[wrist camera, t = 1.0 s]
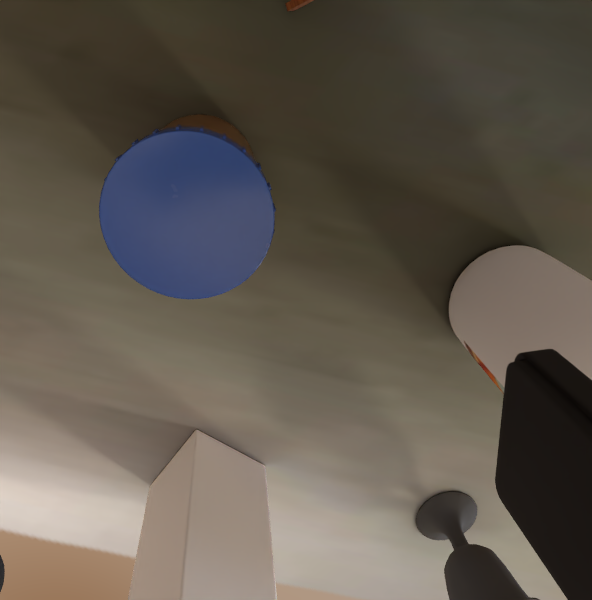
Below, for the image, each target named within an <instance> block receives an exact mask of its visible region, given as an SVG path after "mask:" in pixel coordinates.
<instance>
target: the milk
mask: <svg viewBox="0 0 592 600" xmlns="http://www.w3.org/2000/svg"><path fill="white" fill-rule="evenodd" d="M128 600H277V596H276V584H275V572H274V561H273V549H272V537H271V526H270V514H269V502H268V491H267V479H266V468H265V466H264V465H263V464H261V463H259V462H257V461H255V460H253V459H251V458H249V457H248V456H246V455H244V454H242V453H240V452H238V451H236V450H234V449H233V448H231V447H229V446H227V445H225V444H223V443H221V442H220V441H218V440H216V439H214V438H212V437H210V436H208V435H206V434H205V433H203V432H201V431H199V430H195V431H194V433H193V434H192V435H191V436H190V438H189V439H188V440H187V441H186V442H185V444H184V445H183V446H182V447H181V449H180V450H179V451H178V452H177V454H176V455H175V456H174V457H173V458H172V460H171V461H170V462H169V463H168V465H167V466H166V467H165V468H164V470H163V471H162V472H161V473H160V474H159V476H158V477H157V478H156V479H155V481H154V482H153V483H152V484H151V486H150V488H149V493H148V498H147V503H146V509H145V514H144V519H143V524H142V529H141V535H140V540H139V545H138V550H137V555H136V561H135V566H134V571H133V576H132V582H131V587H130V592H129V597H128Z"/></svg>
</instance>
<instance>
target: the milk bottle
mask: <svg viewBox="0 0 592 600" xmlns="http://www.w3.org/2000/svg"><path fill="white" fill-rule="evenodd" d="M449 319H450V323H451V326H452V329H453V331H454V333H455V334H456V336H457V337H458V338H459V340H460V341H461V343H462V344H463V345H464V347H465V348H466V349H467V350H468V351H469V353H470V354H471V355H472V356H473V358H474V359H475V360H476V361H477V362H478V364H479V365H480V366H481V367H482V368H483V370H484V371H485V372H486V373H487V374H488V376H489V377H490V378H491V379H492V381H493V382H494V383H495V384H496V385H497V387H498V388H499V389H500V390H501V391H502V393H503V394H504V388H505V378H506V370H507V366H508V364H509V363H511V362H514V361H515V358H516V356H517V355H518V354H519V353H523V352H530V351H537V350H544V349H553V350H555V351H557V352H558V353H559V354H561V355H562V356H563V357H564V358H565V359H567V360H568V361H569V362H570V363H572V364H573V365H574V366H575V367H576V368H578V369H579V370H580V371H581V372H582V373H584V374H585V375H586V376H587V377H589V378H590V379H591V380H592V281H591V280H590V279H588V278H586V277H585V276H583V275H581V274H580V273H578V272H576V271H575V270H573V269H571V268H570V267H568V266H566V265H565V264H563V263H561V262H560V261H558V260H556V259H555V258H553V257H551V256H550V255H548V254H546V253H544V252H542V251H540V250H538V249H536V248H532V247H528V246H521V245H514V246H506V247H501V248H497V249H495V250H492V251H489V252H487V253H485V254H483V255H482V256H480V257H478V258H477V259H476V260H474V261H473V262H472V263H470V264H469V265H468V266H467V268H466V269H465V270H464V271H463V272H462V273H461V274H460V276H459V278H458V279H457V281H456V282H455V285H454V287H453V290H452V292H451V297H450V301H449Z"/></svg>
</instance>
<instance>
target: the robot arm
mask: <svg viewBox="0 0 592 600" xmlns="http://www.w3.org/2000/svg"><path fill="white" fill-rule="evenodd" d="M495 483H496V489H497V492H498V495H499V497H500V499H501V501H502V503H503V504H504V506H505V507H506V509H507V510H508V512H509V513H510V515H511V516H512V517H513V519H514V520H515V522H516V523H517V525H518V526H519V528H520V529H521V531H522V532H523V534H524V535H525V537H526V538H527V540H528V541H529V543H530V544H531V546H532V547H533V549H534V550H535V552H536V553H537V555H538V556H539V558H540V559H541V561H542V562H543V564H544V565H545V566H546V568H547V569H548V571H549V572H550V574H551V575H552V577H553V578H554V580H555V581H556V583H557V584H558V586H559V587H560V589H561V590H562V592H563V593H564V595H565V596H566V598H567V599H568V600H592V380H591V379H590V378H589V377H587V376H586V375H585V374H584V373H582V372H581V371H580V370H579V369H578V368H576V367H575V366H574V365H573V364H572V363H570V362H569V361H568V360H567V359H565V358H564V357H563V356H562V355H561V354H559V353H558V352H557V351H555V350H553V349H544V350H537V351H530V352H523V353H519V354H518V355H517V356H516V358H515V361H514V362H511V363H509V364H508V366H507V370H506V378H505V388H504V398H503V408H502V418H501V428H500V438H499V448H498V457H497V467H496V477H495ZM3 582H4V564H3V561H2V558H1V555H0V592H1V589H2V586H3Z"/></svg>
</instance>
